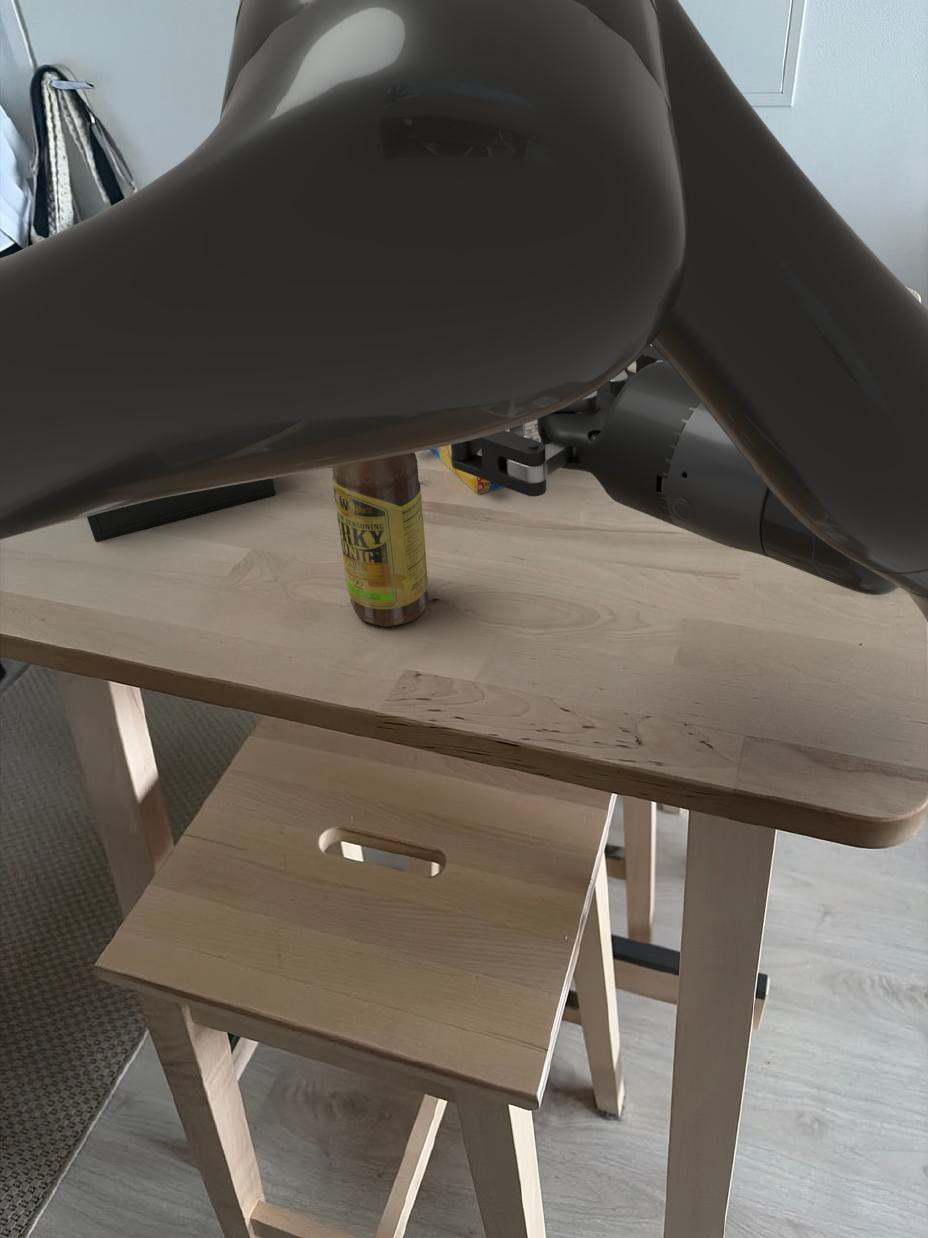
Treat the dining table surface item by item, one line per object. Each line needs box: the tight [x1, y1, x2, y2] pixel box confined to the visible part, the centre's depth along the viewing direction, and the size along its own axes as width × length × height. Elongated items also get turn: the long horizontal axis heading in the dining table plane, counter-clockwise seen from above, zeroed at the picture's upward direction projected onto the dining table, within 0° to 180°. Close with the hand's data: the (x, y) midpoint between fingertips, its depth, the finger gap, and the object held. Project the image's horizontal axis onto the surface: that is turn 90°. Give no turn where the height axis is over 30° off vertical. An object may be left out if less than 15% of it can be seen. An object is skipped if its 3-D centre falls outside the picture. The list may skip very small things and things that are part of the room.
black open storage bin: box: [86, 478, 276, 542], centre depth 94 cm, size 17×17×11 cm
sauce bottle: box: [332, 452, 429, 627], centre depth 72 cm, size 6×6×20 cm
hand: (479, 376), depth 58 cm, fingers open, 8 cm apart
